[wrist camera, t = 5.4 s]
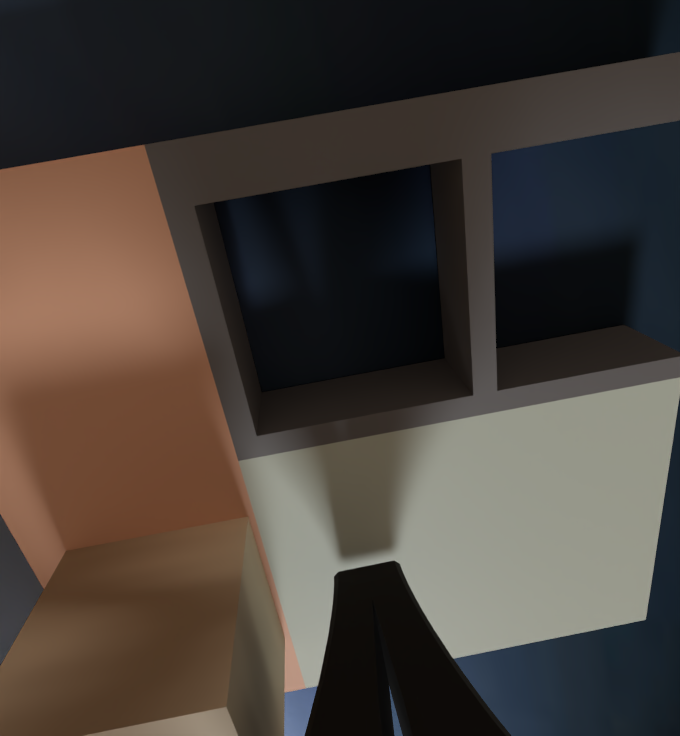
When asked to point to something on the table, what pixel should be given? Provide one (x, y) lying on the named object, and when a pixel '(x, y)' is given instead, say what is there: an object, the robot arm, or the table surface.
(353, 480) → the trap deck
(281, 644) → the birch block
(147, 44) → the table surface
